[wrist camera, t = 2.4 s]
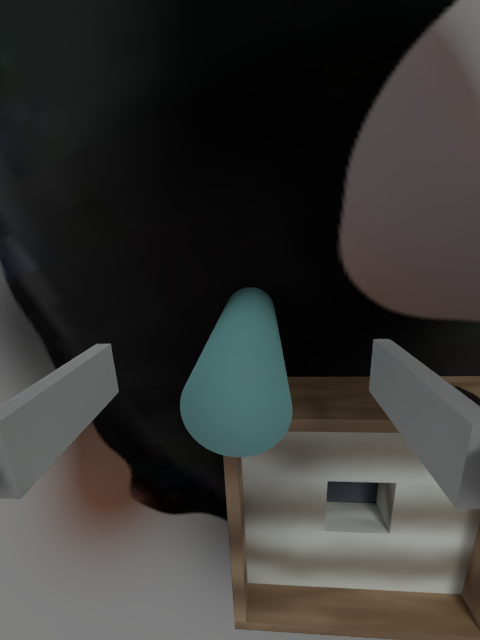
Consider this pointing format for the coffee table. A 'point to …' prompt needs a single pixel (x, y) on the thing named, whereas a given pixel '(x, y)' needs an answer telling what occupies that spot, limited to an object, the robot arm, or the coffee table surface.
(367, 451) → the wooden box with hole
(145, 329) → the coffee table surface
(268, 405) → the teal peg
